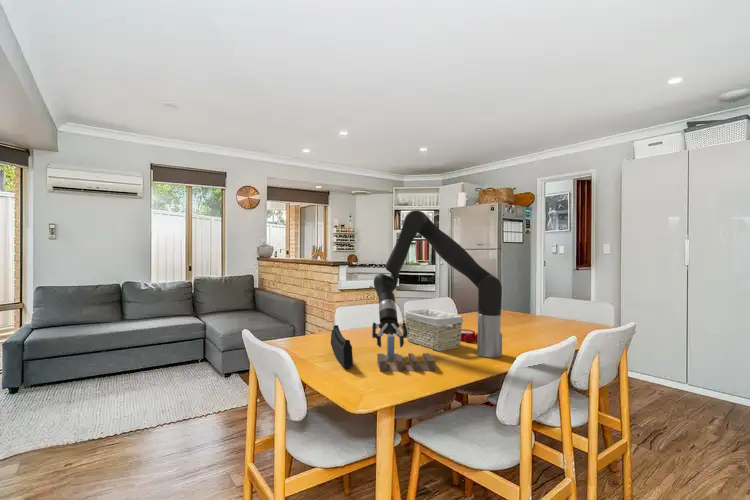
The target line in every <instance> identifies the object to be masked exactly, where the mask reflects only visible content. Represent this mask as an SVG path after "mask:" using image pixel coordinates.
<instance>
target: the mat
mask: <svg viewBox="0 0 750 500" xmlns="http://www.w3.org/2000/svg"><path fill="white" fill-rule="evenodd" d="M384 355H385V358H386V360H387V362H394V359H388V358H387V354H384ZM399 356H400V358H401V359H402V362H405V359H404V357H403V356H402V354H399Z"/></svg>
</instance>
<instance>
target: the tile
mask: <svg viewBox="0 0 750 500" xmlns="http://www.w3.org/2000/svg"><path fill="white" fill-rule="evenodd" d="M386 336H387V337H386V339H387V340H386V355H387V358H388V359H394V354H395V339H396V338H395V336H396V335H395V334H386Z"/></svg>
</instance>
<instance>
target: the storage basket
mask: <svg viewBox="0 0 750 500" xmlns="http://www.w3.org/2000/svg"><path fill="white" fill-rule="evenodd" d="M404 318H405V323H406V328H407V333H408V334H407V338H406V340H407V341H408V342H410V343H413V344H417V345H418V346H419V345H420V346H421V347H425V348H427V349H431V350H433V351H437V352H442V351H446V350H452V349H453V350H454V349H457V348H460V347H461V341H460V339H461V333H462V332H461V330H462V329H463V328H462V327H463V326H462V325H463V322H464V318H463V316H462V315H460V314H455V313H452V312H451V313H450V312H447V311H446V312H445V311H442V310H438V309H433V308H423V309H411V310H405V312H404Z"/></svg>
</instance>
